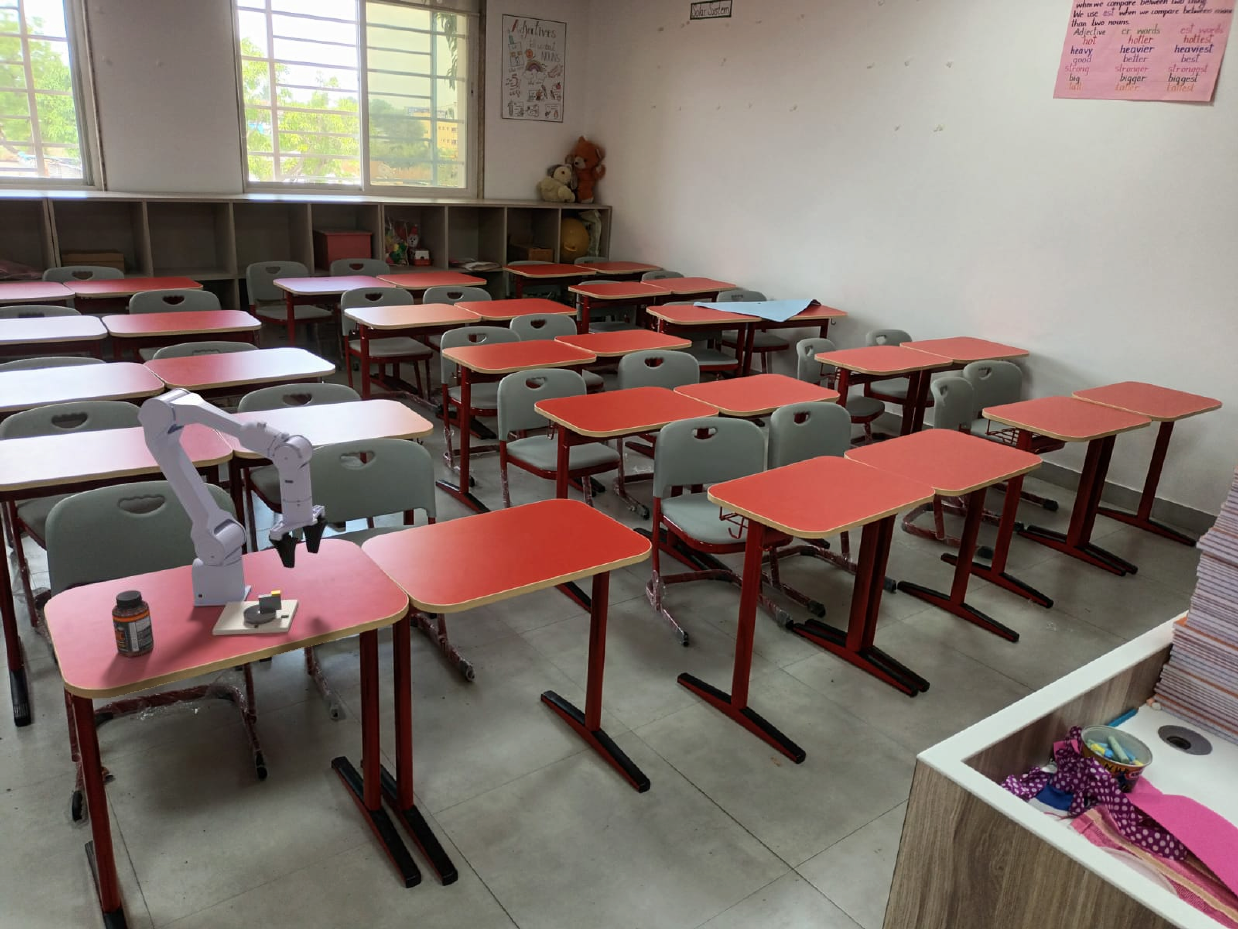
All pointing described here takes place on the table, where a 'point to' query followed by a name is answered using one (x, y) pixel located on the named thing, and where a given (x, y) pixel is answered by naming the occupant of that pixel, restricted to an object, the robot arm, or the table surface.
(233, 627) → the dial plate
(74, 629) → the table surface
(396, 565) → the table surface
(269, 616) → the dial
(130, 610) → the supplement bottle
